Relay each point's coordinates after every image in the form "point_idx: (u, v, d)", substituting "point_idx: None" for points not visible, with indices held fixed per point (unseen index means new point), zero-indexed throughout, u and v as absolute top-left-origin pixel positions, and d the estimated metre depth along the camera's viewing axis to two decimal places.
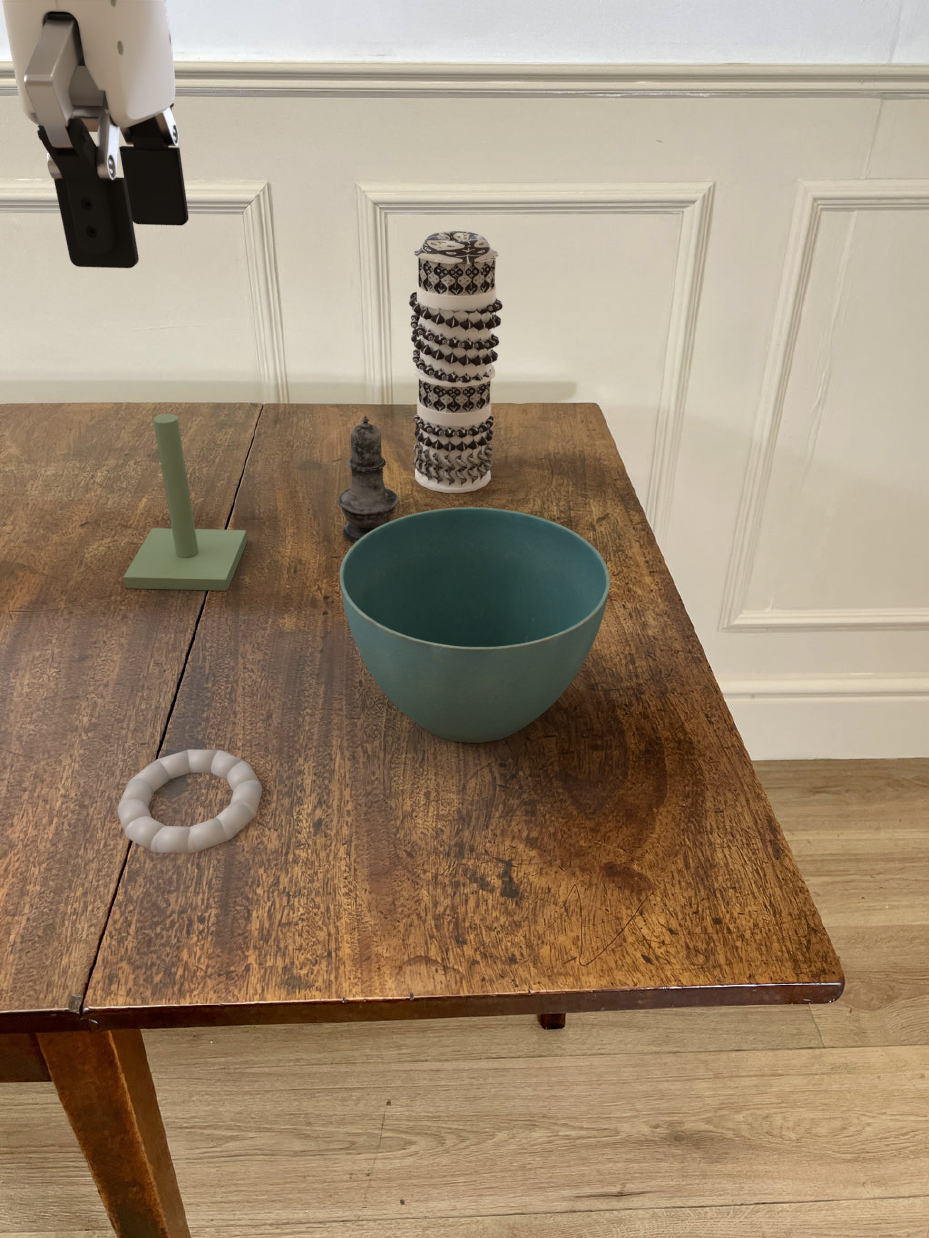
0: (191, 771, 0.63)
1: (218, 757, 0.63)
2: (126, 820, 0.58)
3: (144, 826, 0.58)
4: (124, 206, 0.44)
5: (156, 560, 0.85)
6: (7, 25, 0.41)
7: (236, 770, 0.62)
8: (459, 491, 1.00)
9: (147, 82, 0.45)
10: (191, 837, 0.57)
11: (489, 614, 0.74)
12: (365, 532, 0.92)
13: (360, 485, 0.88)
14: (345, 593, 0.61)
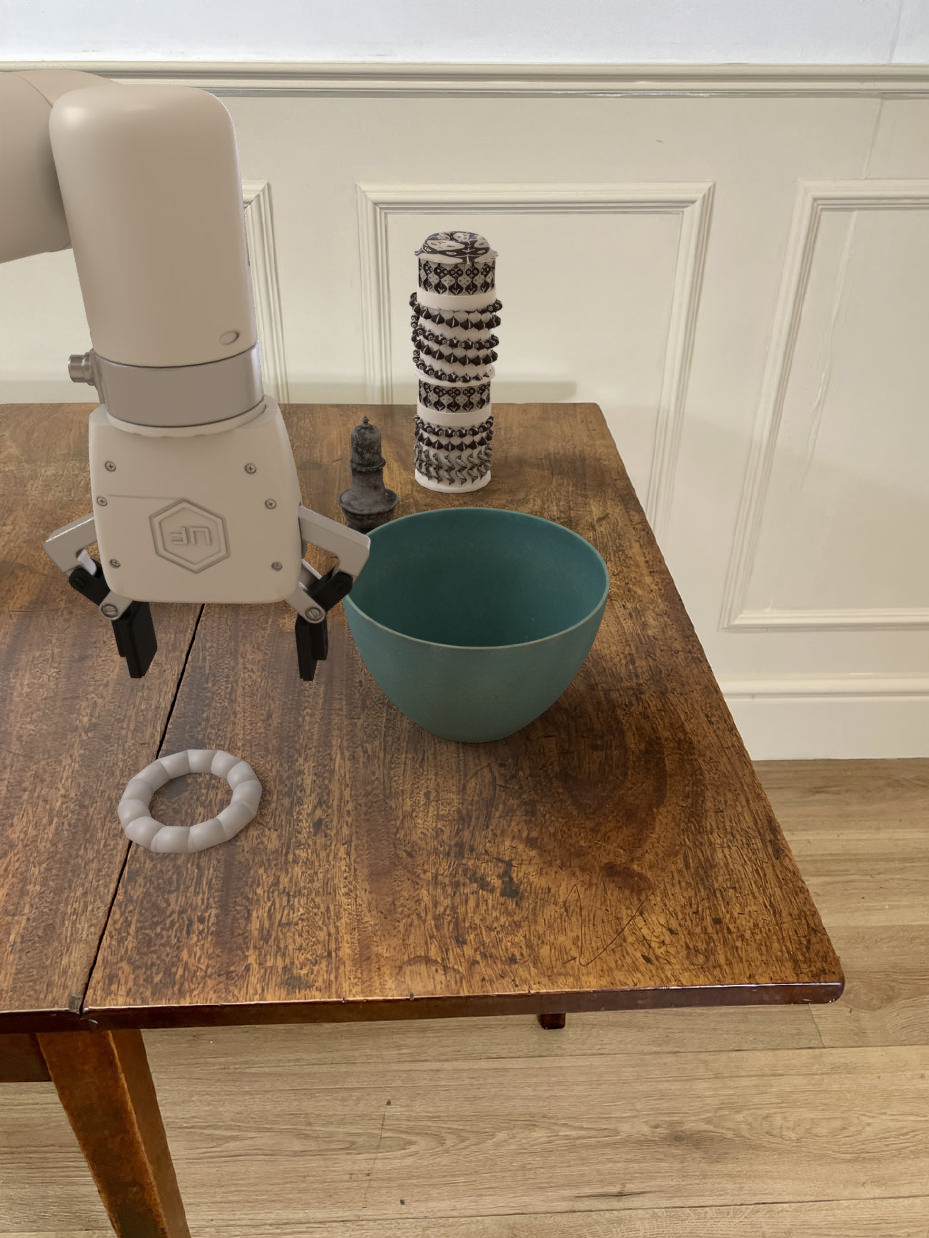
0: (191, 771, 0.63)
1: (218, 757, 0.63)
2: (126, 820, 0.58)
3: (144, 826, 0.58)
4: None
5: None
6: (287, 536, 0.47)
7: (236, 770, 0.62)
8: (459, 491, 1.00)
9: None
10: (191, 837, 0.57)
11: (489, 614, 0.74)
12: (365, 532, 0.92)
13: (360, 485, 0.88)
14: None
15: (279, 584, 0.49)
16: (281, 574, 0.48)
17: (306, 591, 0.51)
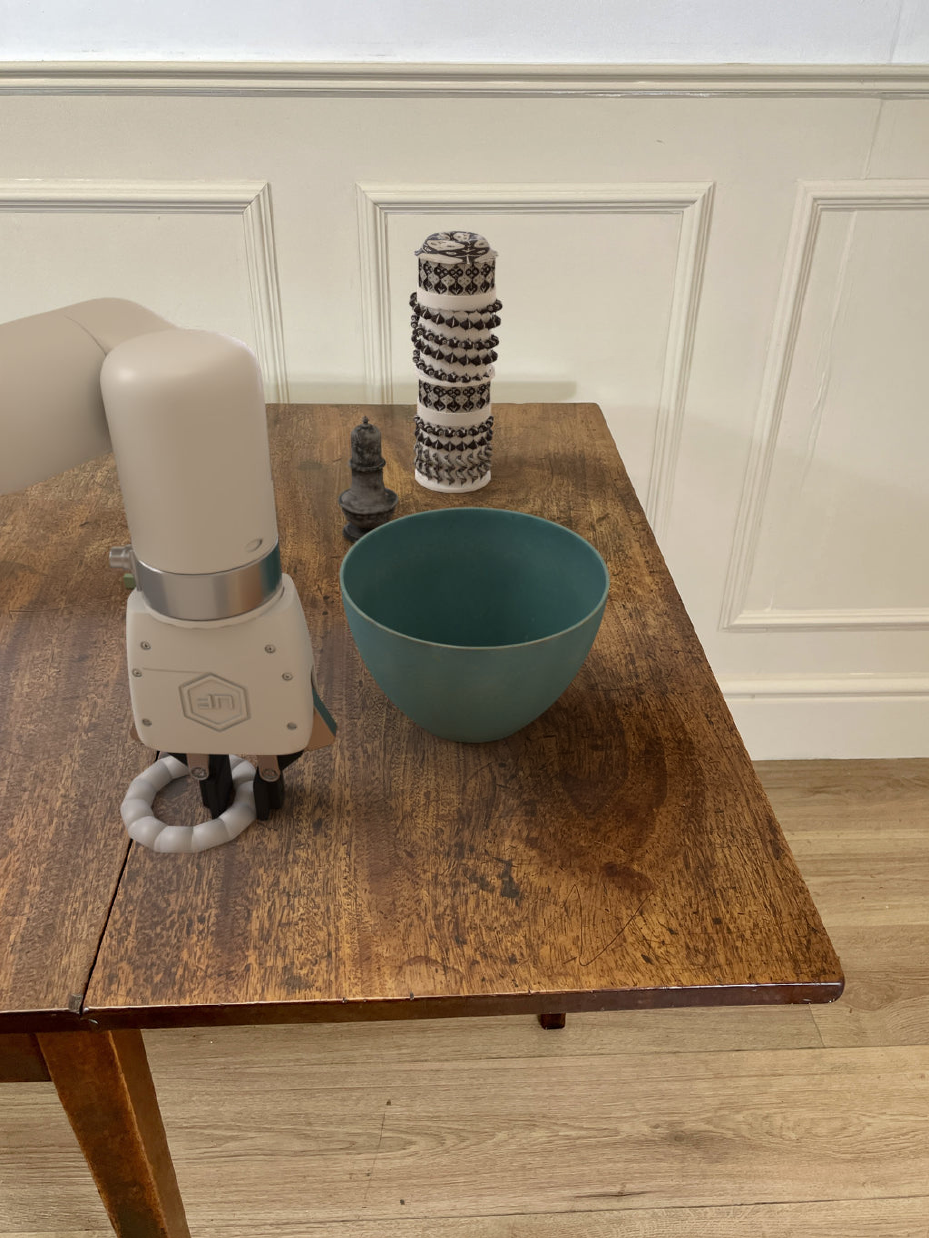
0: None
1: None
2: (129, 820, 0.58)
3: (147, 826, 0.58)
4: None
5: None
6: (301, 701, 0.53)
7: (239, 770, 0.62)
8: (459, 491, 1.00)
9: None
10: (194, 837, 0.57)
11: (489, 614, 0.74)
12: (365, 532, 0.92)
13: (360, 485, 0.88)
14: (345, 593, 0.61)
15: (293, 740, 0.54)
16: (295, 732, 0.54)
17: (277, 757, 0.57)
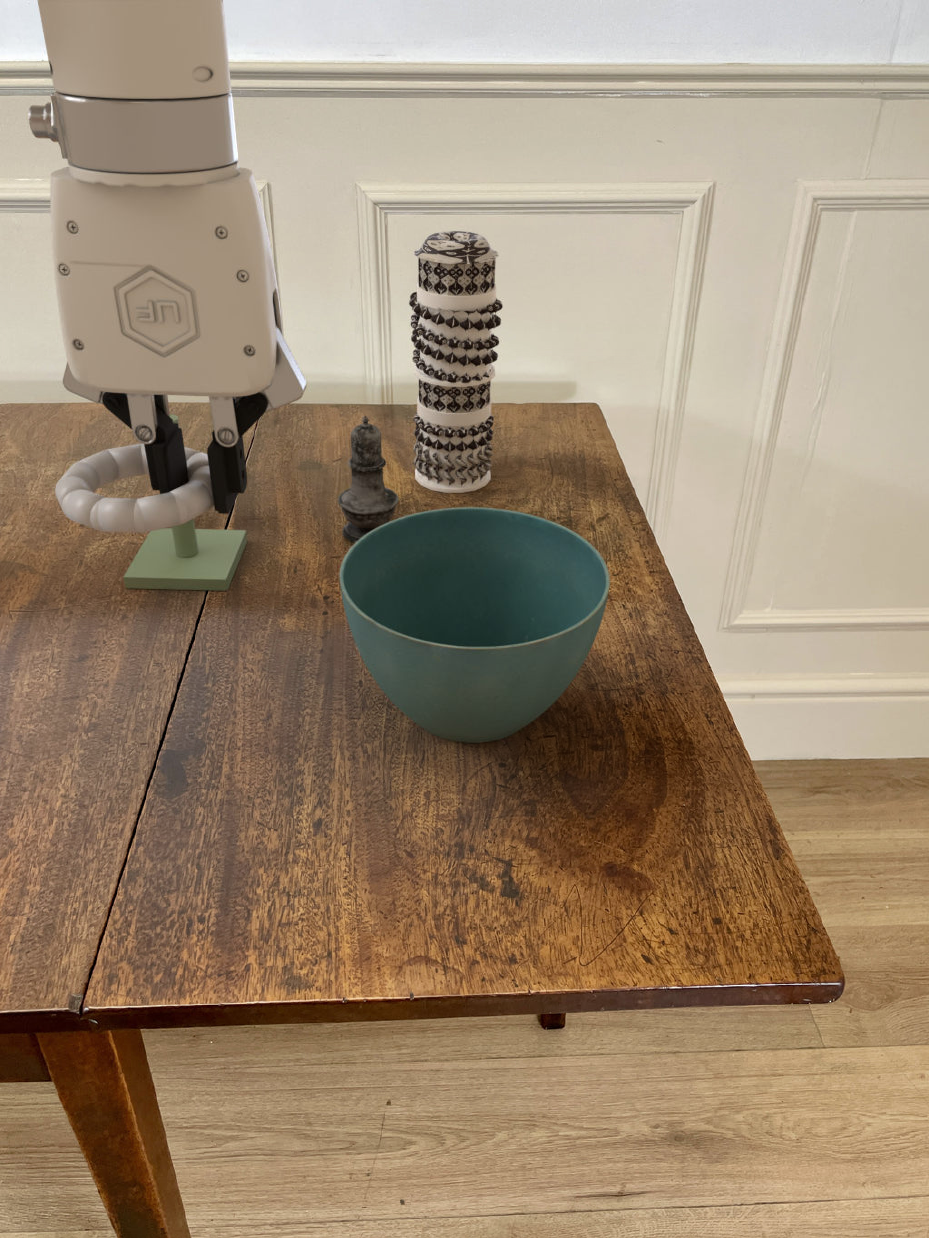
0: (144, 464, 0.55)
1: None
2: (63, 493, 0.50)
3: (83, 496, 0.49)
4: None
5: (156, 560, 0.85)
6: (260, 316, 0.45)
7: (195, 458, 0.54)
8: (459, 491, 1.00)
9: None
10: (138, 506, 0.49)
11: (489, 614, 0.74)
12: (365, 532, 0.92)
13: (360, 485, 0.88)
14: (345, 593, 0.61)
15: (252, 372, 0.46)
16: (254, 360, 0.46)
17: (235, 413, 0.49)
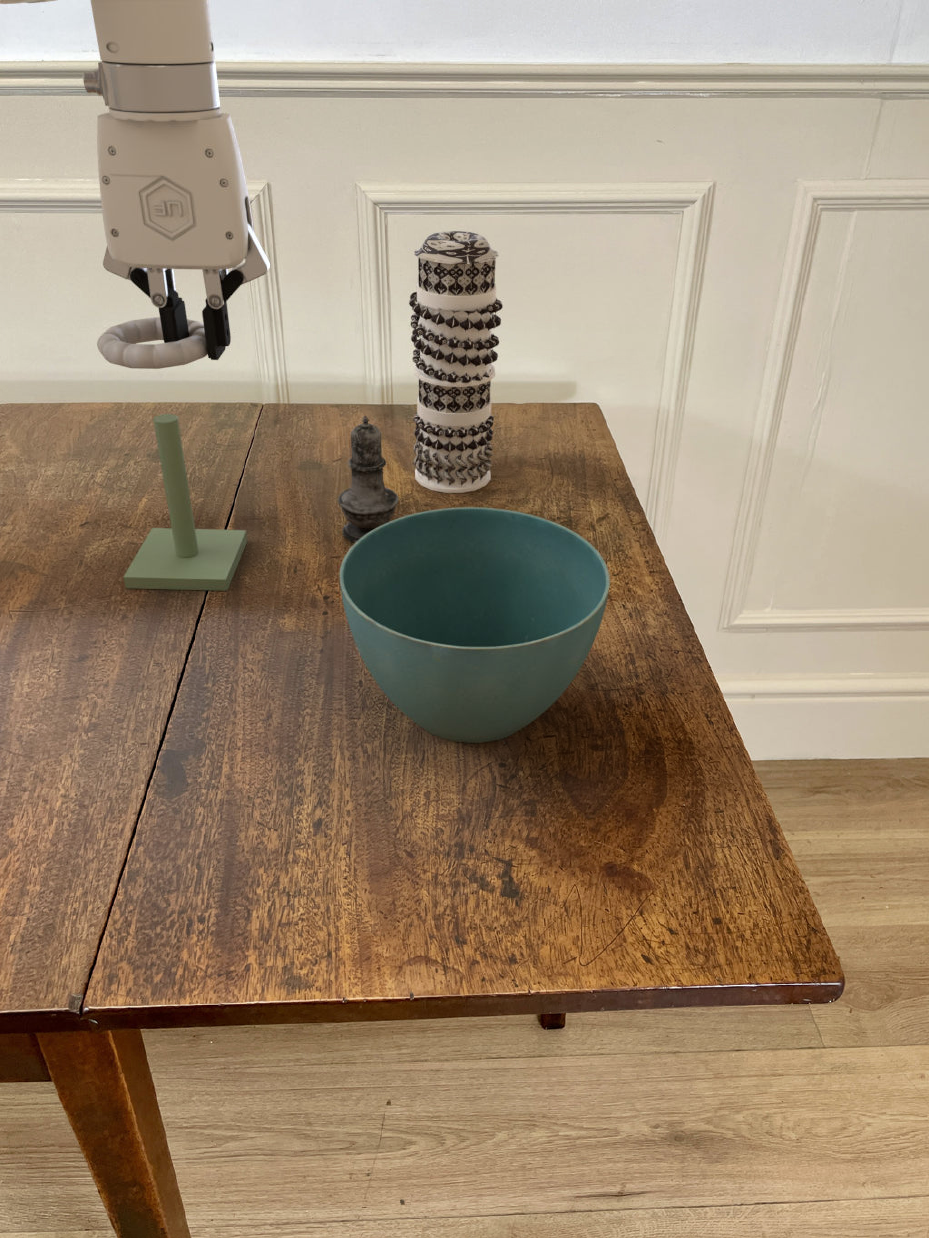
0: (158, 331, 0.77)
1: None
2: (103, 343, 0.73)
3: (118, 343, 0.72)
4: None
5: (156, 560, 0.85)
6: (236, 211, 0.67)
7: (194, 324, 0.76)
8: (459, 491, 1.00)
9: None
10: (155, 348, 0.71)
11: (489, 614, 0.74)
12: (365, 532, 0.92)
13: (360, 485, 0.88)
14: (345, 593, 0.61)
15: (231, 251, 0.68)
16: (232, 242, 0.68)
17: (221, 284, 0.71)
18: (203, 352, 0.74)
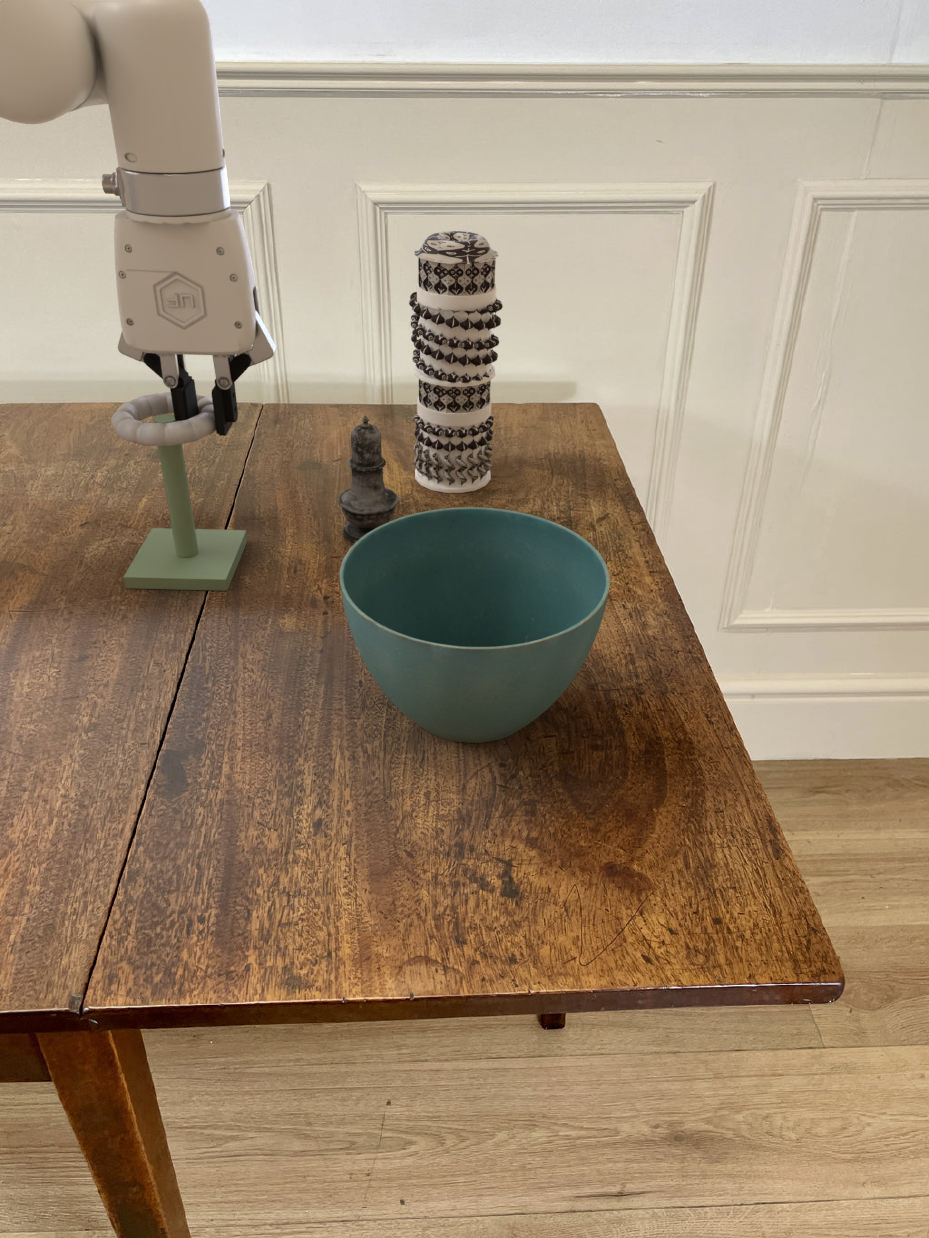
0: (168, 406, 0.81)
1: None
2: (118, 421, 0.76)
3: (131, 422, 0.76)
4: None
5: (156, 560, 0.85)
6: (245, 303, 0.71)
7: (203, 400, 0.80)
8: (459, 491, 1.00)
9: None
10: (167, 427, 0.75)
11: (489, 614, 0.74)
12: (365, 532, 0.92)
13: (360, 485, 0.88)
14: (345, 593, 0.61)
15: (240, 339, 0.72)
16: (241, 331, 0.72)
17: (229, 366, 0.75)
18: (212, 429, 0.78)
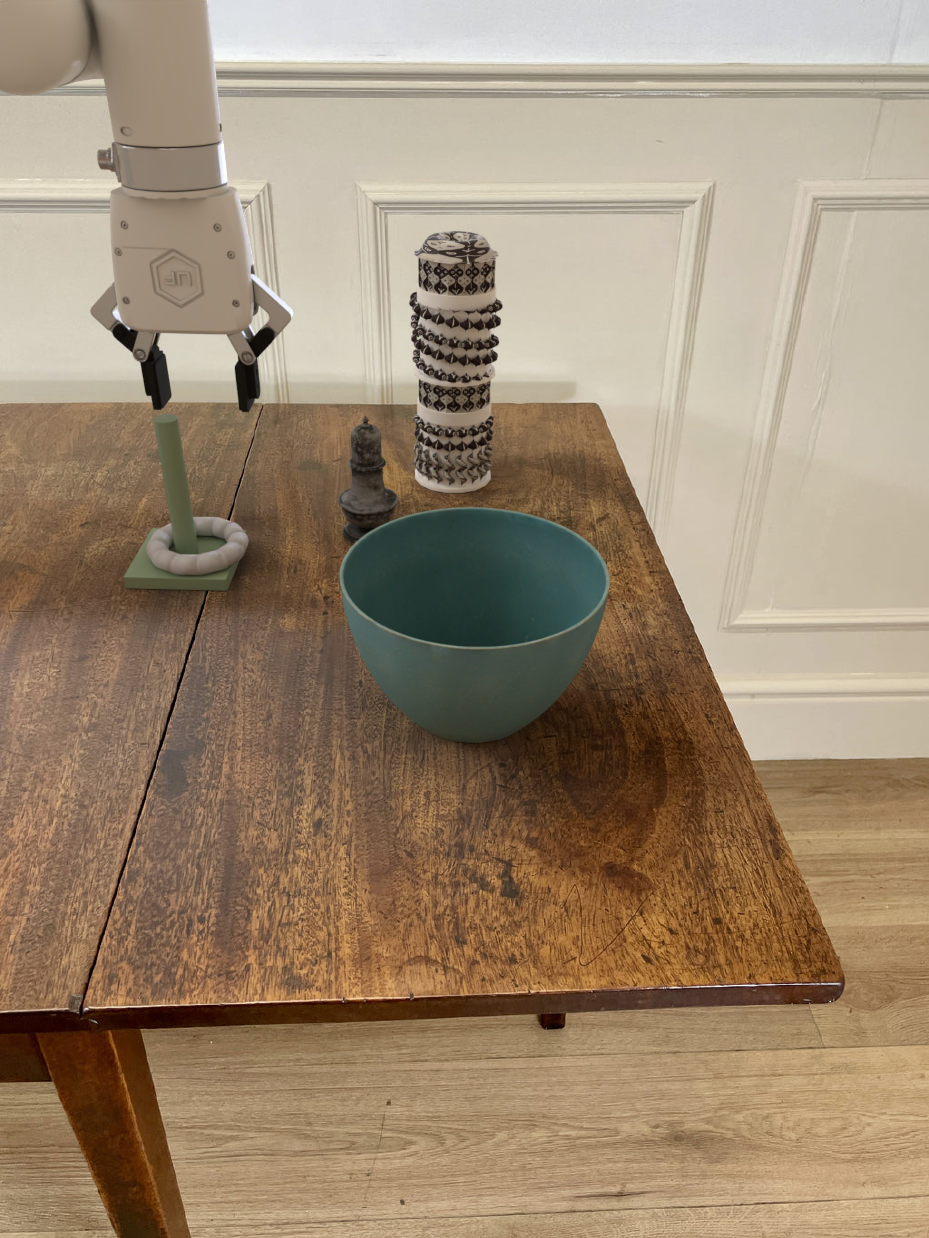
0: (197, 530, 0.88)
1: (217, 520, 0.88)
2: (153, 551, 0.83)
3: (165, 553, 0.82)
4: None
5: None
6: (243, 281, 0.70)
7: (230, 527, 0.87)
8: (459, 491, 1.00)
9: None
10: (198, 559, 0.82)
11: (489, 614, 0.74)
12: (365, 532, 0.92)
13: (360, 485, 0.88)
14: (345, 593, 0.61)
15: (237, 317, 0.71)
16: (239, 309, 0.71)
17: (246, 339, 0.74)
18: (239, 557, 0.84)
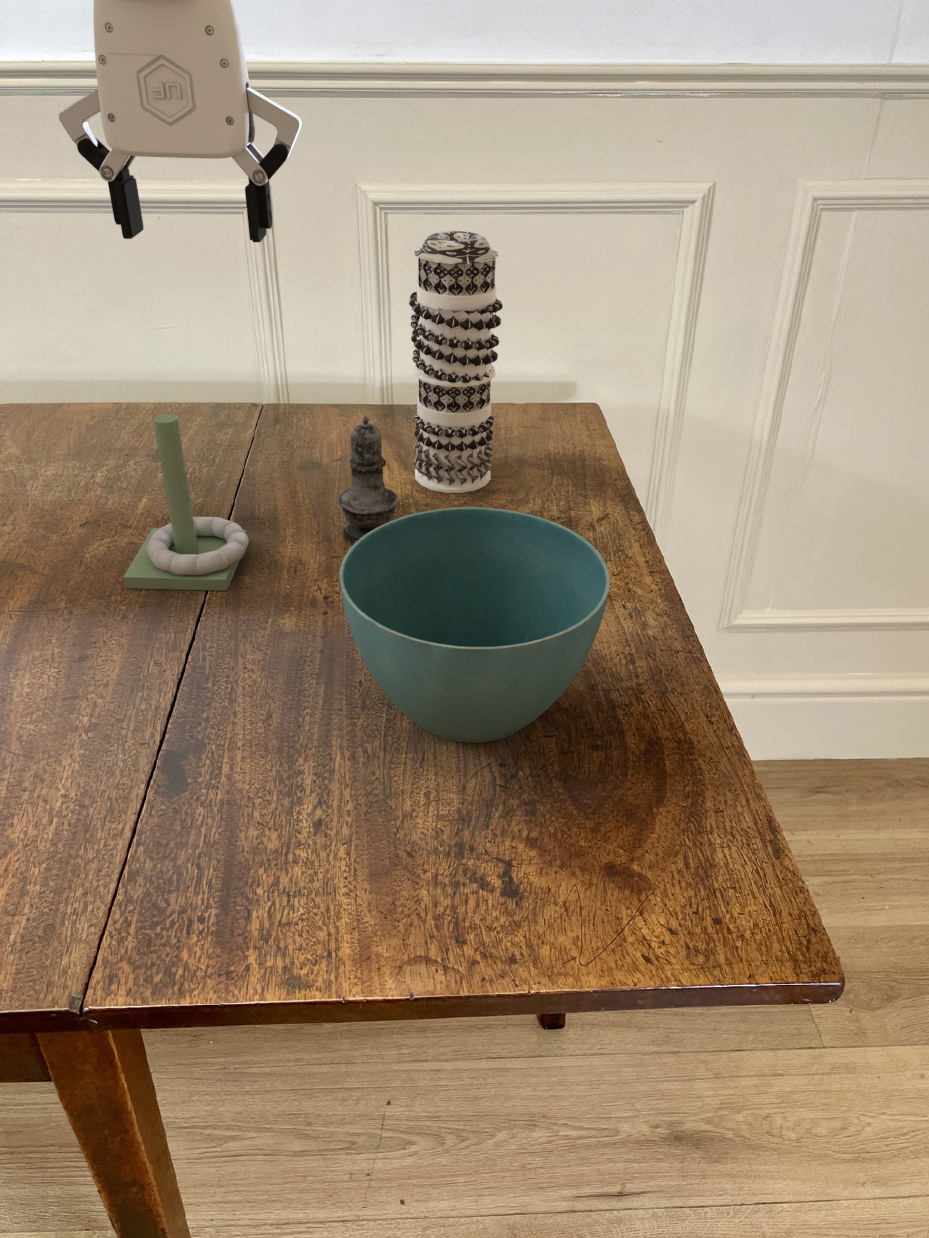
0: (197, 530, 0.88)
1: (217, 520, 0.88)
2: (153, 551, 0.83)
3: (165, 553, 0.82)
4: None
5: None
6: (237, 94, 0.65)
7: (230, 527, 0.87)
8: (459, 491, 1.00)
9: None
10: (198, 559, 0.82)
11: (489, 614, 0.74)
12: (365, 532, 0.92)
13: (360, 485, 0.88)
14: (345, 593, 0.61)
15: (231, 137, 0.66)
16: (233, 128, 0.66)
17: (253, 156, 0.69)
18: (239, 557, 0.84)
